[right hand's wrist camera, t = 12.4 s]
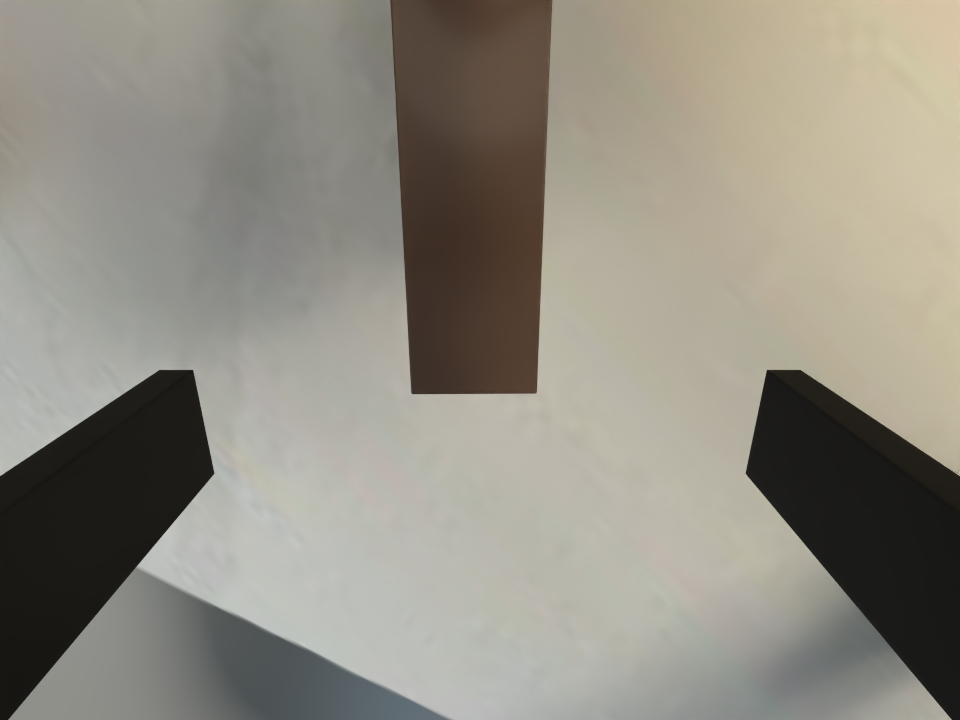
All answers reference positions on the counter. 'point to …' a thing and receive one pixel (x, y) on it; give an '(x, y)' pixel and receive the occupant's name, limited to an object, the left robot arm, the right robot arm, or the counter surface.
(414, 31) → the beam
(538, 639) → the counter surface
